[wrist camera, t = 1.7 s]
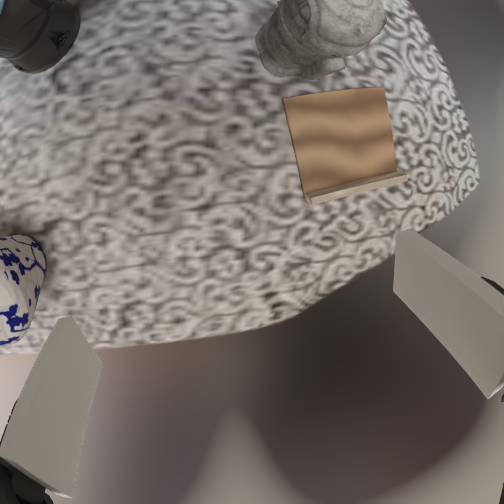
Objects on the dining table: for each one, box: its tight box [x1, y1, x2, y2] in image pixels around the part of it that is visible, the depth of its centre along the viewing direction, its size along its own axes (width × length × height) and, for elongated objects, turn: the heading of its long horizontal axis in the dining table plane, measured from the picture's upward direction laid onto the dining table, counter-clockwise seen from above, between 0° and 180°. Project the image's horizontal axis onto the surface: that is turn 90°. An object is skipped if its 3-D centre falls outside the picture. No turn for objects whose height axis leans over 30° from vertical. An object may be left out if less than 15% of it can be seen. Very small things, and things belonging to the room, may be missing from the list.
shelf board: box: [282, 87, 408, 205], centre depth 44 cm, size 18×20×4 cm
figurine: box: [256, 0, 387, 80], centre depth 27 cm, size 10×14×25 cm
